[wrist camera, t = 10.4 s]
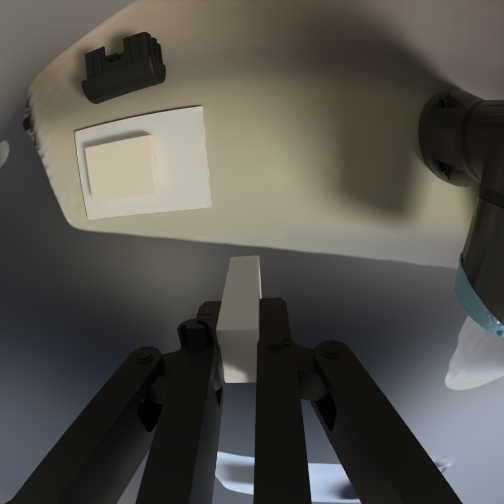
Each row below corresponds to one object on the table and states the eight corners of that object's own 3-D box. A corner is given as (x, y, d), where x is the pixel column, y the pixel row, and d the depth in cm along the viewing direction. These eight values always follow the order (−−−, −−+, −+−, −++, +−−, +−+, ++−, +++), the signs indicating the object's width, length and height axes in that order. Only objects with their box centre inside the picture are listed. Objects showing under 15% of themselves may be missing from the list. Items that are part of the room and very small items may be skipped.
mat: (202, 106, 37) (202, 106, 37) (212, 206, 42) (211, 207, 42) (76, 131, 38) (74, 131, 38) (90, 218, 43) (88, 219, 43)
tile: (147, 135, 36) (84, 148, 37) (154, 193, 39) (93, 202, 40) (152, 134, 38) (91, 147, 39) (159, 191, 41) (99, 199, 42)
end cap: (106, 105, 37) (83, 103, 31) (101, 63, 34) (77, 55, 28) (170, 86, 36) (154, 79, 30) (163, 41, 33) (147, 28, 27)
